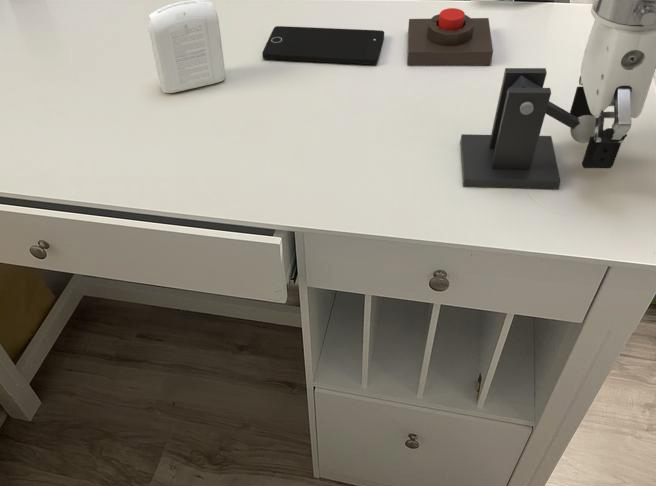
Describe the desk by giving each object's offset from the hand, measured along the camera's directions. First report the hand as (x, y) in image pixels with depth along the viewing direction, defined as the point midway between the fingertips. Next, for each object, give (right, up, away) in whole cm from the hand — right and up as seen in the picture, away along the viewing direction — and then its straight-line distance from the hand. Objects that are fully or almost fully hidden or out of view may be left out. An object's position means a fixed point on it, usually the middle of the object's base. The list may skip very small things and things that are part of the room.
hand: (589, 140), depth 79 cm
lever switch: (-6, +2, -1) cm, 6 cm away
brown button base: (-10, +20, +23) cm, 32 cm away
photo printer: (-49, +14, +23) cm, 56 cm away
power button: (-11, +22, +20) cm, 32 cm away
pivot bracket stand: (-8, -2, +4) cm, 9 cm away
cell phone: (-29, +21, +26) cm, 44 cm away
